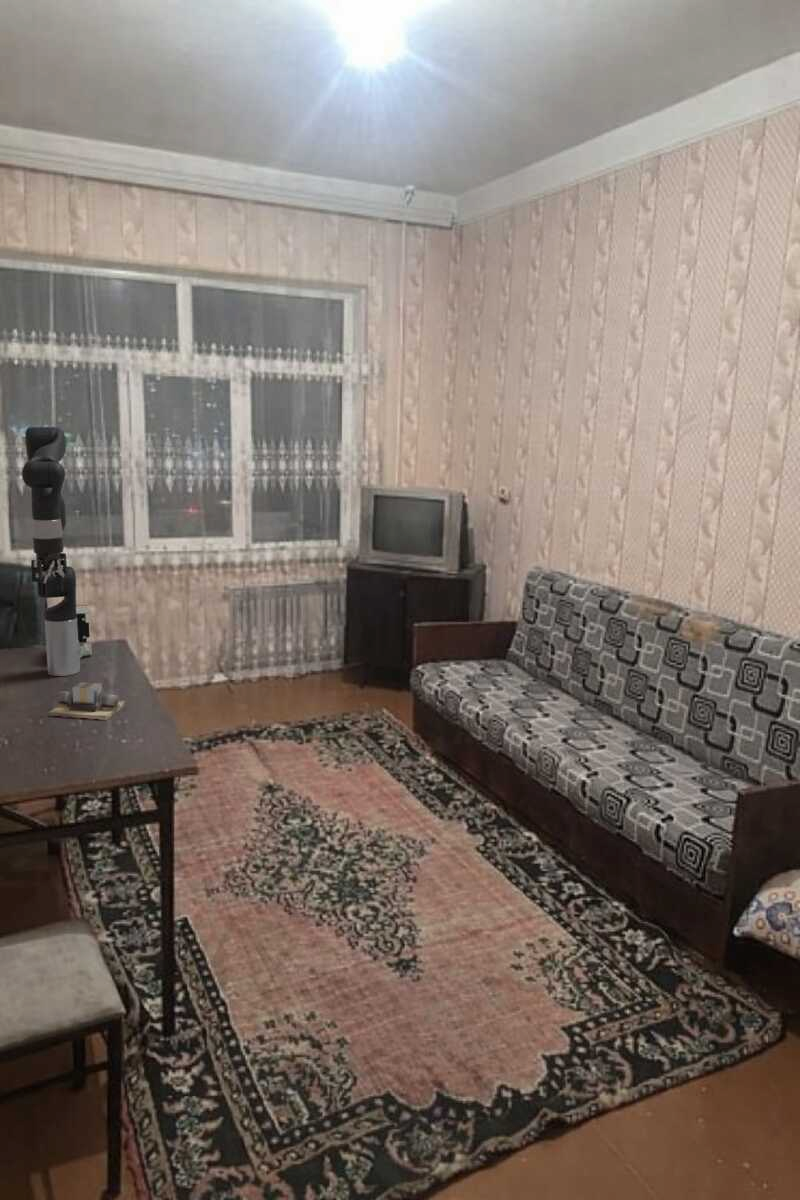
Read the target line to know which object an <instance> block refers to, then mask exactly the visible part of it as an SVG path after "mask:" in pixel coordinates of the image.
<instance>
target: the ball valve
mask: <svg viewBox="0 0 800 1200" xmlns="http://www.w3.org/2000/svg"><path fill="white" fill-rule="evenodd" d="M76 612H77V629H78V640H79V652H80V659H81V658H83V657H84V656H85V657H88V656H91V655H92V653H93V652H92V650H93V649H92V643H87V642H88V638H90V637H91V636H90V635H91V629H92V626H91V624H92V623H91V620H92V619H91V613H92V612H91V608H88V606H87V604H76ZM85 657H84V658H85Z"/></svg>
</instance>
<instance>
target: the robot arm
mask: <svg viewBox="0 0 800 1200" xmlns="http://www.w3.org/2000/svg"><path fill="white" fill-rule="evenodd" d="M24 436H25V437H24V438H25V440H24V441H25V448H26V449H25V450H26V456H27V461H26V462H25V464H24V465H23V468H22V471H21V477H22V481H23V483H24V484H25V485H26V486H27V487H29V488H30V493H31V494H30V495H31V513H32V514H31V515H32V516H31V517H32V525H31V527H32V528H31V529H32V530H31V531H32V544H33V545H32V547H33V553H34V554H35V555H36V559H32V560H31V562H30V563H31V582H32V583H36V587H37V595H38V597H40V598H42V599H51V598H53V599H54V598H63V599H62V600H61V601H59V602H58V603H57V604H55V605H53V606H50V607H48V608H46V609H45V610H44V613H43V614H44V628H45V646H46V647H45V648H46V660H47V661H46V663H47V674H48V675H50V676H54V677H63V676H65V677H66V676H67V677H68V676H72V675H75V674H77V673H79V672H80V671H81V670H80V669H81V658H80V652H79V640H78V629H77V612H76V605H77V578H76V577H77V576H76V572H75V569H74V567H72V566H68V564H67V555H66V554H67V553H64V539H63V538H64V537H63V531H64V530H65V527H66V524H67V518H66V517H67V516H66V505H65V504H66V503H65V501H64V499H63V496H62V490H63V486H64V482H65V479H66V478H65V477H66V470H65V468H64V466H63V465H62V464H61V463H60V462H61V460H62V459H63V458H64V457H65V454H66V450H67V441H66V436H65V432H64V430H62V428H60V427H56V426H30V427H28V428H26V429H25V435H24Z"/></svg>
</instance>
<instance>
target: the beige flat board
mask: <svg viewBox="0 0 800 1200" xmlns="http://www.w3.org/2000/svg"><path fill="white" fill-rule="evenodd" d="M56 699H57V702H58V703H56V707H55V708H53V709H52V710H49V712H48V716H49V717H54V716H62V717H61V718H67V717H73V718H72V719H80V718H87V719H86V720H94V719H99V720H98V721H107V719H108V718H109V717H110V718H112V717H113V716H114V715H115V713H116V712H117V711H118V712H120V711H121V710H122V709H124V708H125V707H127V701H126V700H124V701H123V700H119V696H118V694H108V693H107V691H104V690H102V692H101V693H100V695H99V698H98V705H99V707H98V708H97V709H95V706H92V705H78V704H73V690H72V689H71V690H70V691H66V690H65V691H64V690H60V691H59V692H58V693H57V698H56ZM124 706H125V707H124ZM123 707H124V708H123ZM121 708H122V709H121ZM120 709H121V710H120ZM119 710H120V711H119ZM118 712H117V713H118ZM117 713H116V714H117ZM113 714H114V715H113ZM112 715H113V716H112ZM111 716H112V717H111ZM110 718H109V719H110ZM109 719H108V720H109Z"/></svg>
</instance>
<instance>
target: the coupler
mask: <svg viewBox="0 0 800 1200" xmlns="http://www.w3.org/2000/svg"><path fill="white" fill-rule="evenodd" d="M102 686H103V684H102V683H96V682H83V681H82V682H80V681H79V683H77V684H75V685H74V686H72V689H71V690H73V704H78V705H92V706H95V709H97V708H98V707H99V705H98V698H99V695H100V693H101V692H102V691H103V688H102Z"/></svg>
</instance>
